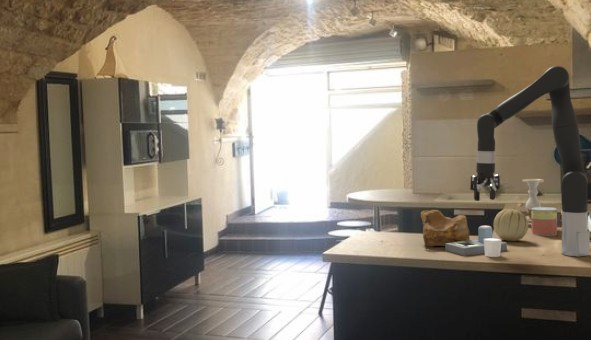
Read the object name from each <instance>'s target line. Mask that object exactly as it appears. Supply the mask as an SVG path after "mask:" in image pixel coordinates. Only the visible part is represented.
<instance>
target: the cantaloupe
mask: <svg viewBox="0 0 591 340" xmlns="http://www.w3.org/2000/svg"><path fill="white" fill-rule="evenodd" d="M526 216H527V215H525V214H524V213H523V212H522V211H520V210H517V209H516V208H515V207H512V208H505V209H502V210H501V211H499V212H497V214H496V216H495V218H494V219H493V230H494V233H495V234H496V235H497V237H499V239H501V240H504V242H505V241H506V242H516V241H519V240H521V239H523V238H524V237H525V236H526V234H527V233H528V230H529V227H528V220H527V218H526Z"/></svg>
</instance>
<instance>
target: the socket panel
mask: <svg viewBox="0 0 591 340" xmlns="http://www.w3.org/2000/svg"><path fill="white" fill-rule="evenodd" d="M444 247H445V249H444V250H445V252H449V253H452V254H457V255H460V256H462V257H464V256H473V255H479V254H485V250H484V243H480V242H478V239H472V240H471V239H469V241H460V242H452V243H445V246H444ZM507 250H508V242H507V241H506V242H505V241H501V251H500V252H502V251H507Z"/></svg>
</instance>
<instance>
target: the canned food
mask: <svg viewBox="0 0 591 340" xmlns="http://www.w3.org/2000/svg"><path fill="white" fill-rule="evenodd" d="M531 209H532V228H531V235H536V236H541V237H542V236H544V237H547V236H548V237H550V236H552V237H553V236H557V235H558V231H557V230H558V227H557V226H558V216H557V215H558V211H557V210H558V209H557V208H555V207H549V206H546V207H545V206H541V207H534V208H531Z"/></svg>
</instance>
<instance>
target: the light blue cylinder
mask: <svg viewBox="0 0 591 340" xmlns="http://www.w3.org/2000/svg"><path fill="white" fill-rule="evenodd" d="M477 229H478V231H477V232H478V233H477V234H478V235H477V236H478V237H477V238H478V242H480V243H484V240H483V239H485V238H493V227H492V226H490V225H486V224H485V225H480V226H479V227H478V228H477Z"/></svg>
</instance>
